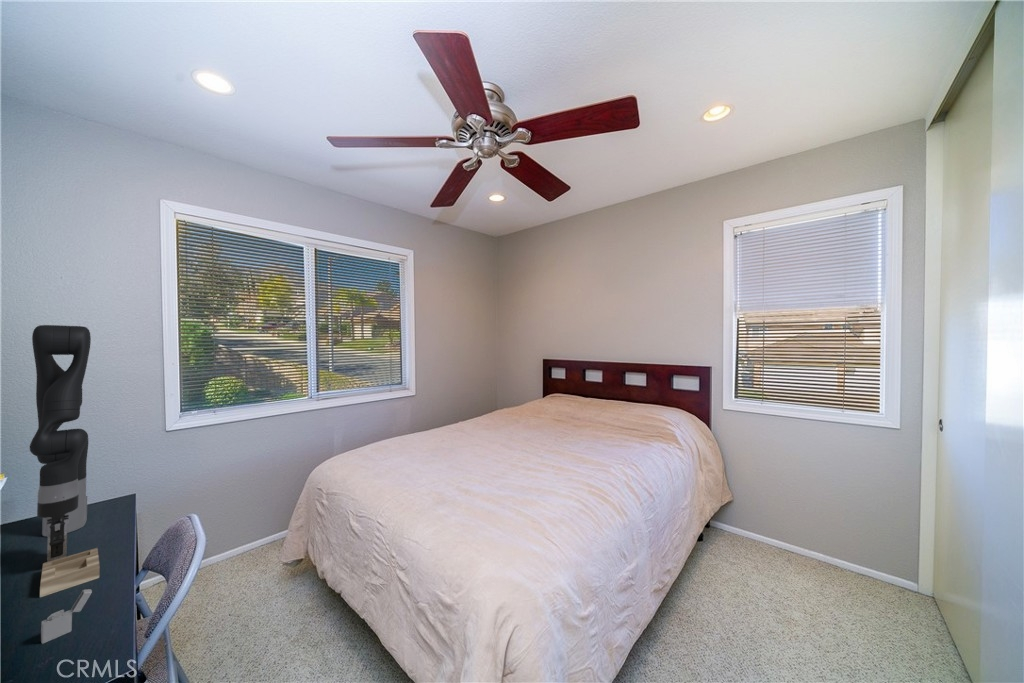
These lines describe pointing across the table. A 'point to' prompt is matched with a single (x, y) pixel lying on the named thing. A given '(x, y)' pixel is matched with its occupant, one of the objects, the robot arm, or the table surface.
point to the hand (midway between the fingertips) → (57, 550)
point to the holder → (69, 571)
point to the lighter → (62, 619)
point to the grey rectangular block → (63, 548)
